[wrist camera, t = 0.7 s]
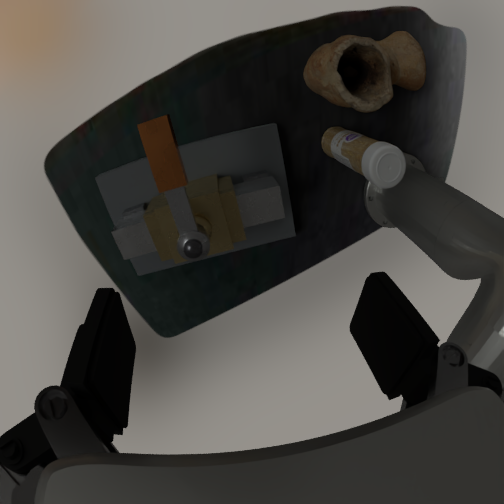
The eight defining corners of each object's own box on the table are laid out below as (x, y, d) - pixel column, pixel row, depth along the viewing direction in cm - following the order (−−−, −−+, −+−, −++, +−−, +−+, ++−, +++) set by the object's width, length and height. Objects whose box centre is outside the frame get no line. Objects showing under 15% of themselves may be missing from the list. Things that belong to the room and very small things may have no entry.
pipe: (404, 88, 31) (450, 93, 23) (310, 116, 33) (343, 124, 25) (385, 32, 27) (429, 24, 18) (284, 54, 28) (311, 40, 20)
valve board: (273, 123, 33) (276, 124, 32) (292, 231, 41) (295, 235, 40) (99, 174, 33) (95, 177, 31) (140, 270, 41) (138, 275, 40)
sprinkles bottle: (336, 119, 33) (393, 135, 22) (355, 143, 35) (414, 170, 24) (313, 141, 35) (362, 166, 23) (333, 164, 37) (385, 198, 25)
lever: (213, 250, 29) (214, 260, 27) (184, 257, 29) (182, 267, 27) (172, 113, 21) (169, 114, 20) (138, 124, 21) (132, 127, 20)
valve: (267, 161, 34) (286, 183, 26) (277, 210, 38) (295, 245, 30) (119, 203, 34) (95, 236, 26) (138, 247, 38) (122, 288, 30)
